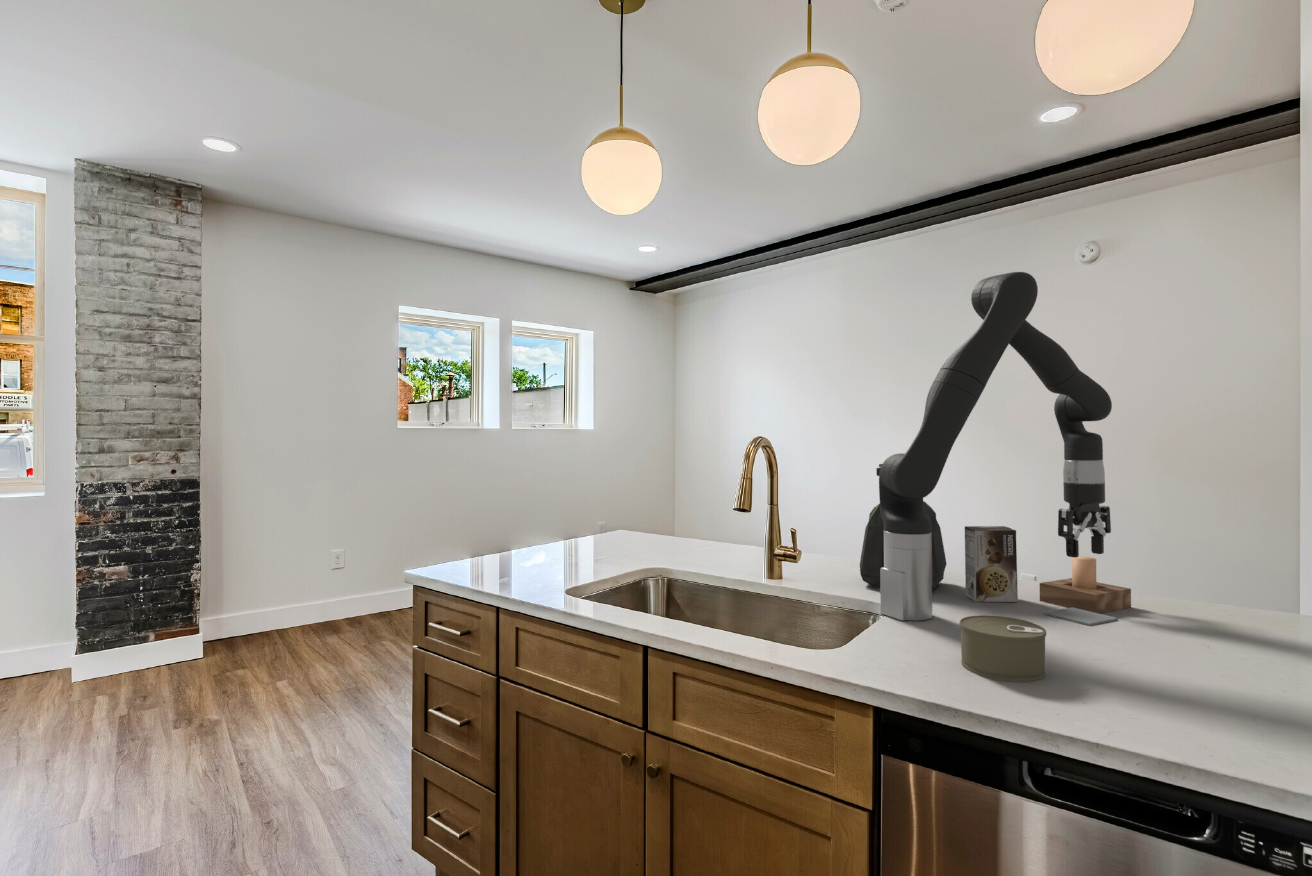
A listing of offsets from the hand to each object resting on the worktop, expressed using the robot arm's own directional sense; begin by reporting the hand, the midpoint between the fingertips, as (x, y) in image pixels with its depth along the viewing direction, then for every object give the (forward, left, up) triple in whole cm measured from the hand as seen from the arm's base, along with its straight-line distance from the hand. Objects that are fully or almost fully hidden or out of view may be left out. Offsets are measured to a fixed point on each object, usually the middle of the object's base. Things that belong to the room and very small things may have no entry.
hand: (1085, 555), depth 138 cm
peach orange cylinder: (0, 0, -11) cm, 11 cm away
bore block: (0, 0, -11) cm, 11 cm away
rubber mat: (-11, -6, -11) cm, 16 cm away
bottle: (-21, +31, -11) cm, 39 cm away
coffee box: (-14, +12, -11) cm, 22 cm away
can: (-51, -19, -11) cm, 56 cm away
